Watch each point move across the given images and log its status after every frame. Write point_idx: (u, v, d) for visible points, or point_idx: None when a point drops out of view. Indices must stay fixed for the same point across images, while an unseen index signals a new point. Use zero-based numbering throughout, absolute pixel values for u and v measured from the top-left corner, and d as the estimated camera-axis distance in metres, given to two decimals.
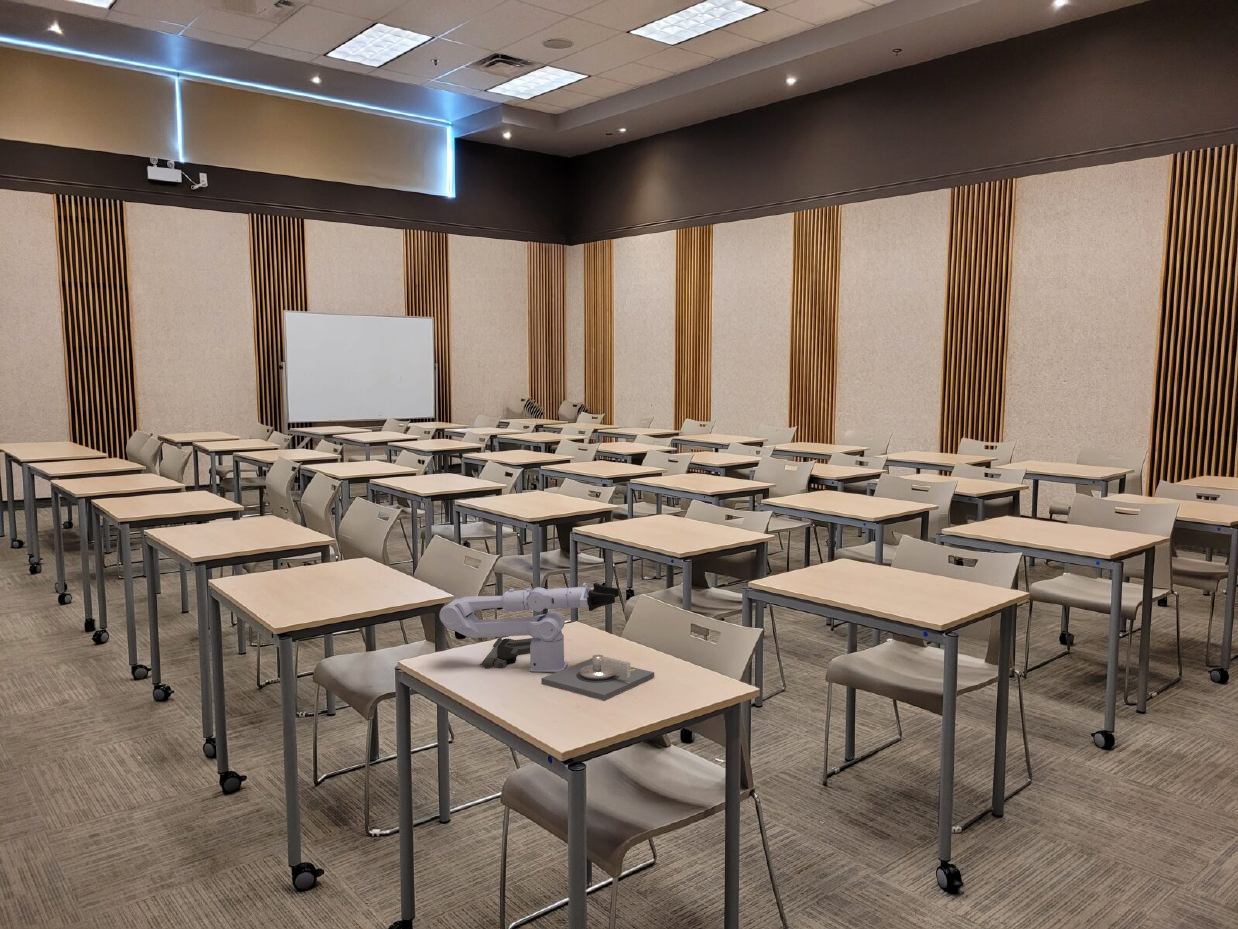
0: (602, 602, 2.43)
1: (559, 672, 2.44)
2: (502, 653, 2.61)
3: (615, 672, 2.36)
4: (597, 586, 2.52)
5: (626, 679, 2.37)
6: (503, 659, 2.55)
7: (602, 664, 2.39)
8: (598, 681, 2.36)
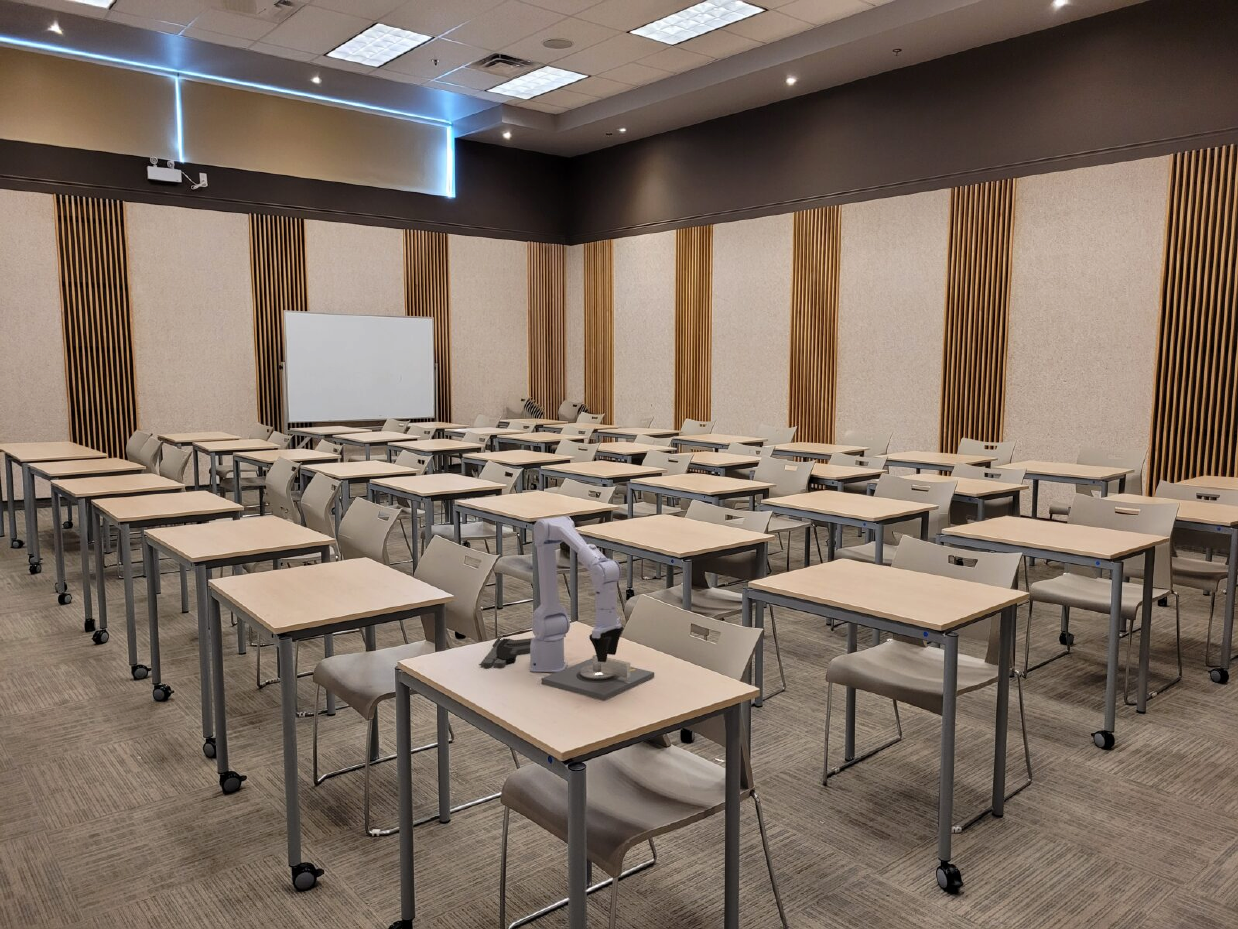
0: (598, 648, 2.27)
1: (559, 672, 2.44)
2: (501, 653, 2.61)
3: (615, 672, 2.36)
4: (618, 633, 2.32)
5: (626, 679, 2.37)
6: (502, 659, 2.55)
7: (602, 664, 2.39)
8: (598, 681, 2.36)
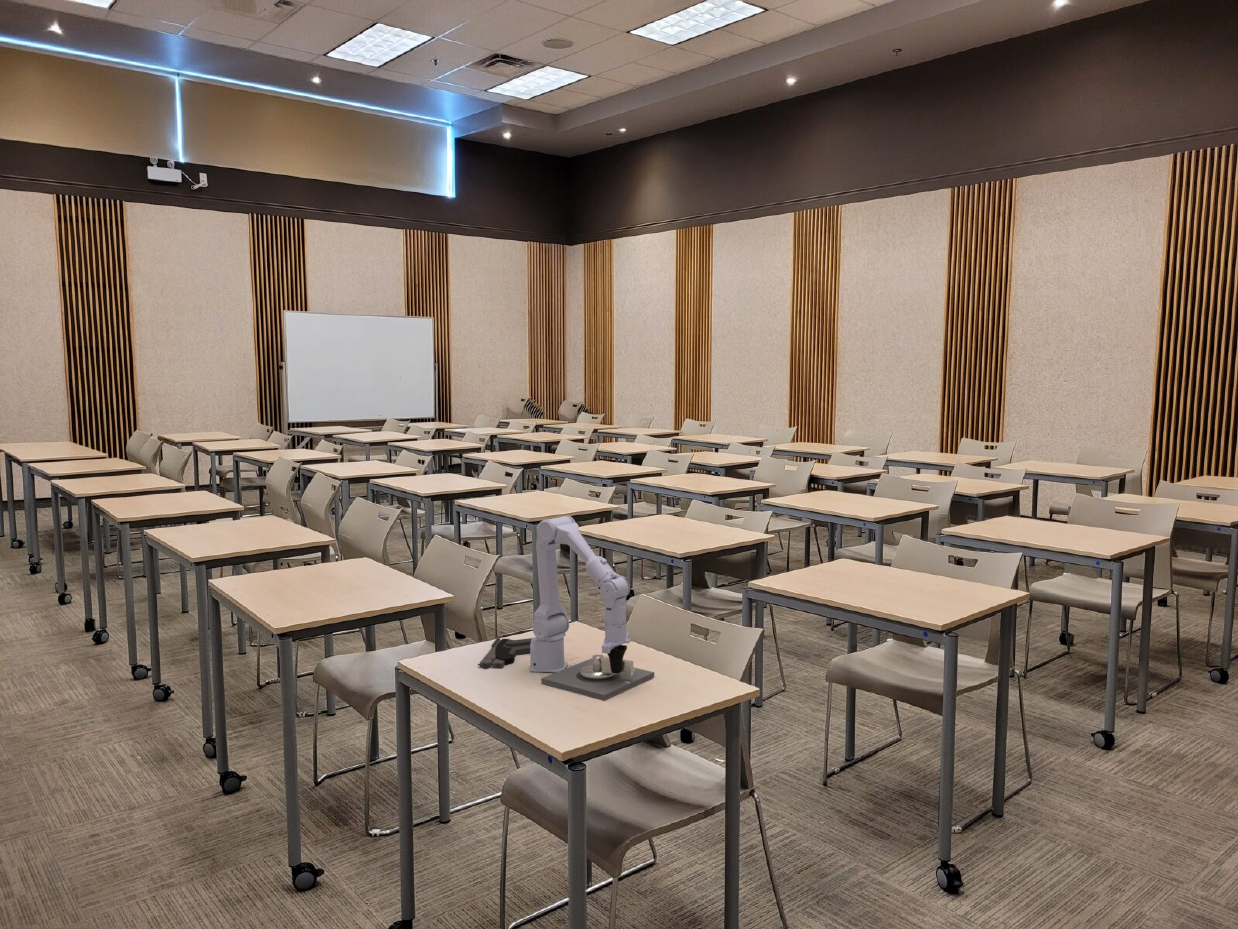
0: None
1: (559, 672, 2.44)
2: (500, 653, 2.60)
3: None
4: None
5: (626, 679, 2.37)
6: (501, 659, 2.55)
7: (603, 664, 2.39)
8: (598, 681, 2.36)
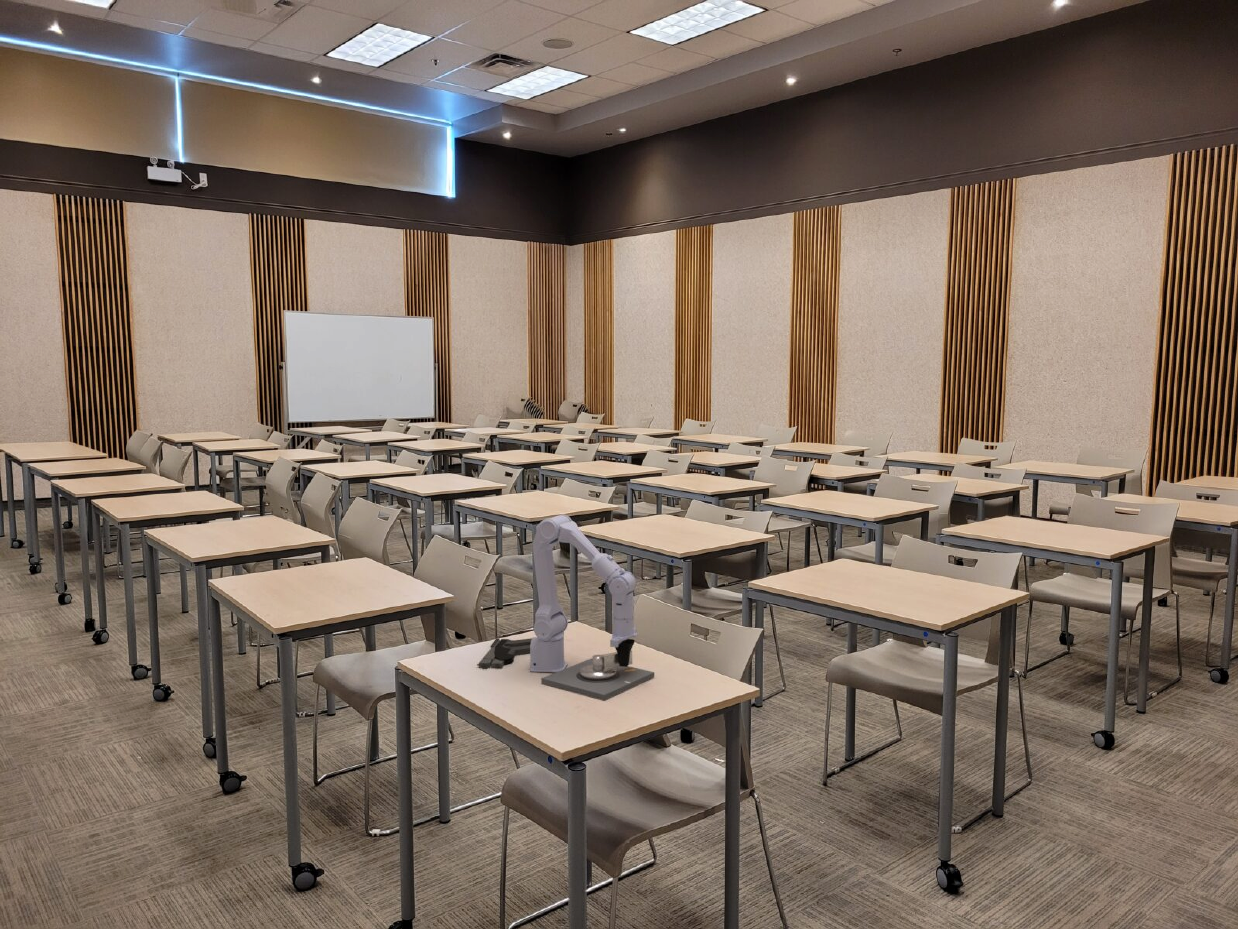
0: None
1: (559, 672, 2.44)
2: (499, 653, 2.60)
3: None
4: None
5: (626, 679, 2.37)
6: (500, 659, 2.55)
7: (606, 661, 2.41)
8: (598, 681, 2.36)
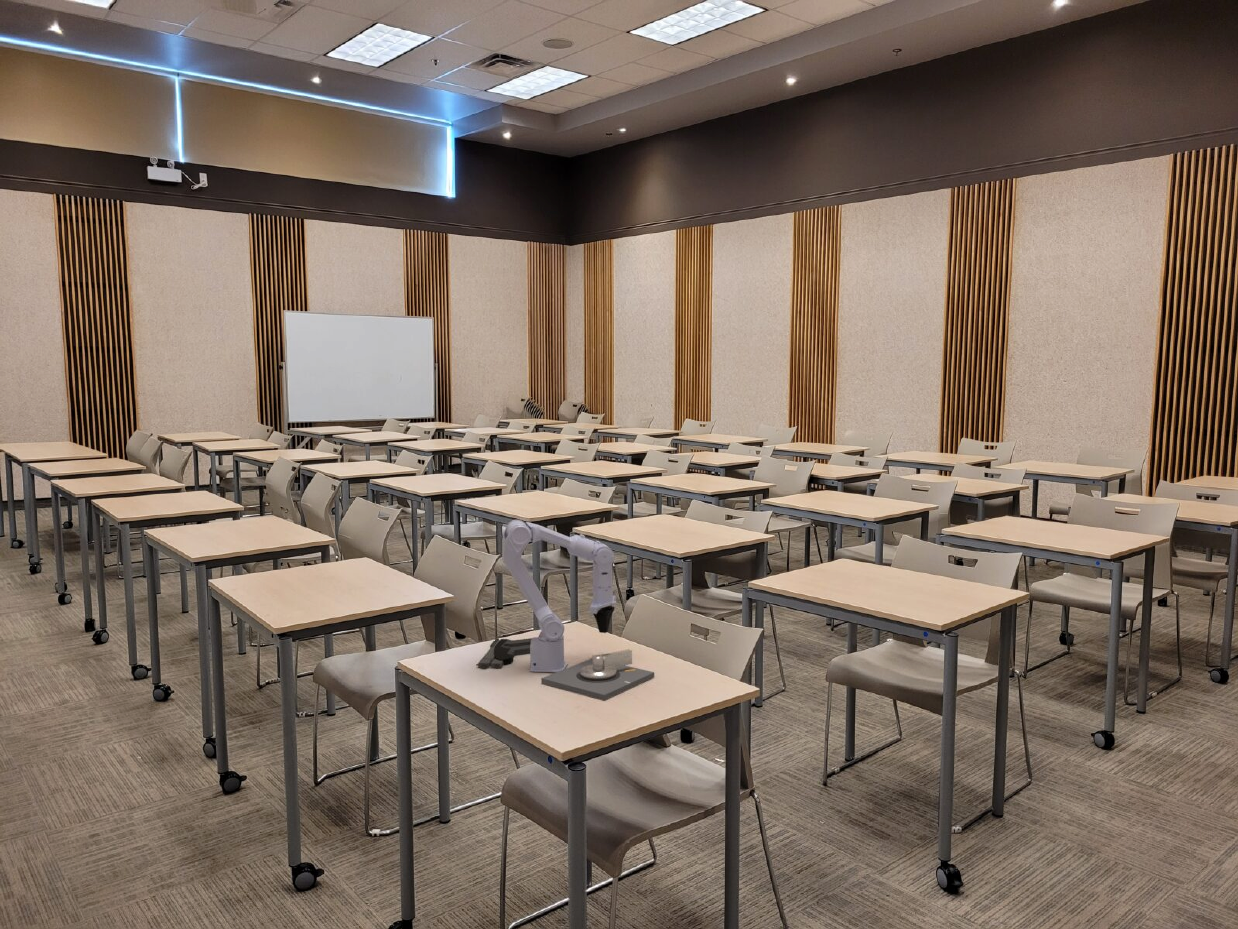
0: (599, 621, 2.54)
1: (559, 672, 2.44)
2: (499, 653, 2.60)
3: (619, 664, 2.43)
4: None
5: (626, 679, 2.37)
6: (500, 660, 2.55)
7: (606, 661, 2.41)
8: (598, 681, 2.36)
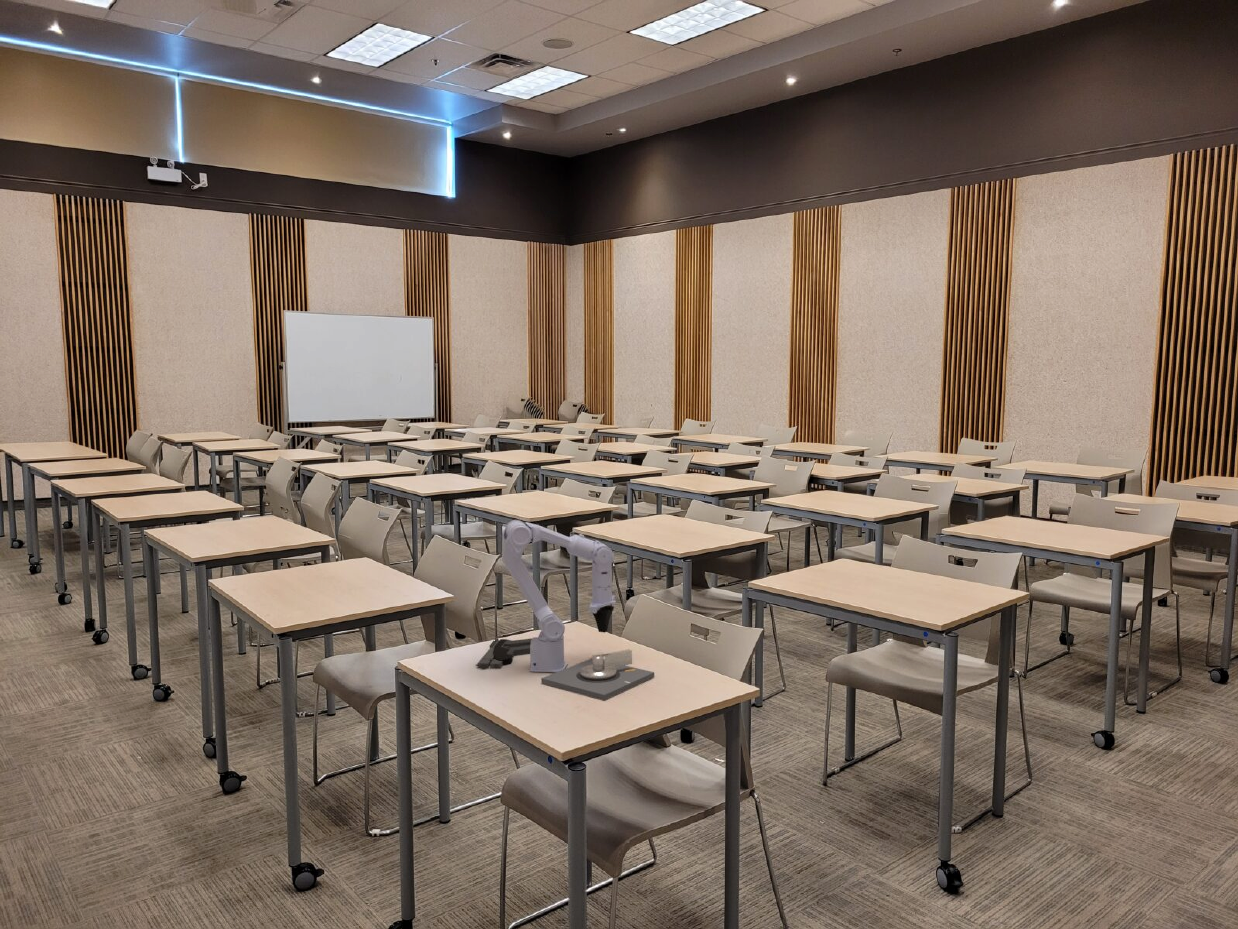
0: (599, 620, 2.54)
1: (559, 672, 2.44)
2: (498, 654, 2.60)
3: (619, 664, 2.43)
4: None
5: (626, 679, 2.37)
6: (499, 660, 2.55)
7: (606, 661, 2.41)
8: (598, 681, 2.36)
